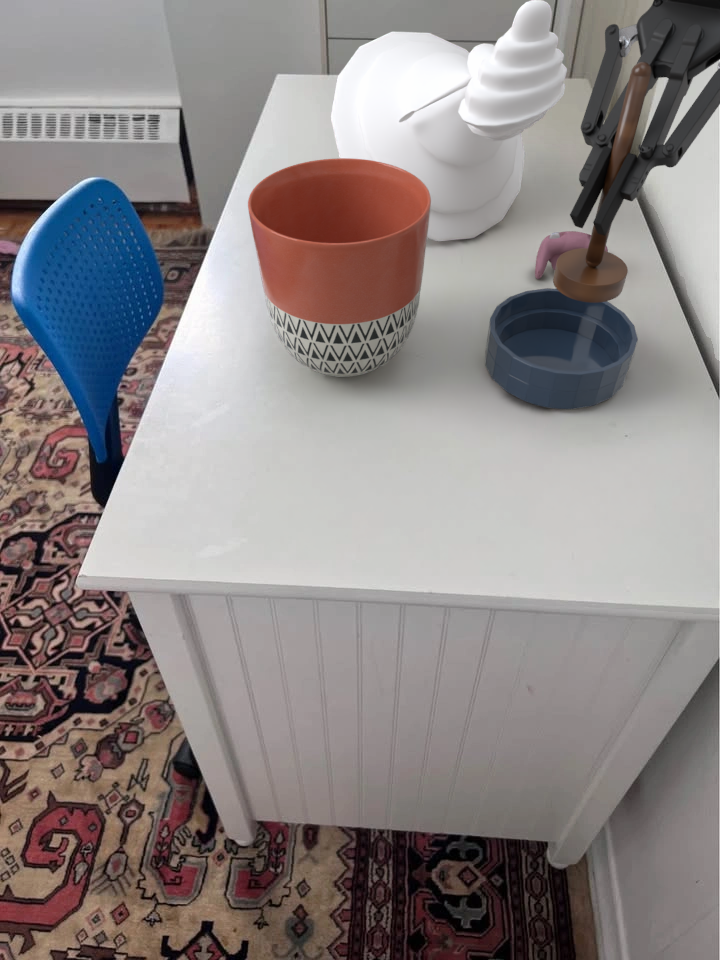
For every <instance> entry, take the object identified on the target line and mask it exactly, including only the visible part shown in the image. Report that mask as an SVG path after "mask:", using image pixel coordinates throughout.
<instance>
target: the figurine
mask: <svg viewBox="0 0 720 960" xmlns="http://www.w3.org/2000/svg"><path fill="white" fill-rule="evenodd" d="M552 17H553V10H552V6H551V5H550V4H549V3H548V2H547V1H545V0H528V1H525V2H524V4H521V6H520V7H519V8H518V9H517V11H516V13H515V15H514V17H513V21H512V25H511V27H510V28H509V29H508V30H507V31H506V32H505V33H504V34H503V35H501V36H500V37H499V38H498V39H497V40H496V42H495V44H492V43H486V42H485V43H480V44H477V45H475V46H474V47H473V48H472V50H471V51H470V52H469V51H468V50H467V49H466V48H464V47H462V46H460V45H458V44H455V43H453V42H450V41H449V40H447V39H444V38H442V37H440V36H437V35H436V34H433V33H431V32H419V31H417V32H415V31H389V32H388V33H385V34H384V35H381V36H379V37H378V38H375V39H373V40H371V41H369V42H366V43H364V44H362V45H360V46H358V48H357V49H356V50H355V52H354V53H353V55H352V56H351V57H350V58H349V60H348V61H347V63H346V64H345V66H344V67H343V68H342V69H341V71H340V72H339V74H338V75H337V80H336V84H335V89H334V96H333V102H332V108H331V113H330V120H331V125H332V129H333V135H334V140H335V143H336V148H337V153H338V157H339V158H350V159H364V160H371V161H377V162H382V163H386V164H389V165H393V166H396V167H398V168H401V169H403V170H406V171H408V172H409V173H411V174H413V175H414V176H416V177H417V178H419V179H420V180H421V181H422V182H423V183H424V184H425V186H426V187H427V189H428V190H429V193H430V196H431V208H430V218H429V227H428V234H427V239H429V240H431V241H436V242H445V241H446V242H447V241H457V240H458V241H459V240H466V239H467V240H468V239H469V240H470V239H474V238H476V237H478V236H479V235H480V234H483V233H484V232H486V231H488V230H489V229H490V228H492V227H494V226H495V225H497V224H498V223H500V222H501V221H503V220H504V218H505V216H506V215H507V214H508V211H509V210H510V208H511V206H512V205H513V203H514V201H515V200H516V198H517V196H518V195H519V193H520V192H521V188H522V179H523V173H524V164H525V158H526V150H525V147H524V146H525V145H524V142H523V141H524V140H523V136H522V132H524V131H525V130H527V129H530V128H531V127H532V126H534V124H537V123H538V122H539V121H541V120H542V119H543V118H544V117H545V116H546V114H547V112H548V111H549V110H551V109H552V108H554V107H555V106H556V105H557V103H558V102H559V101H560V100H561V98H562V97H564V95H565V89H566V84H565V80H566V76H567V73H568V68H567V67H566V66H565V64H564V63H563V61H564V59H565V54H564V53H563V52H562V51H561V49H560V48H557V47H558V44H559V36H558V35H557V34H556V33H555V32H552V31H550V29H551V24H552V19H553V18H552Z"/></svg>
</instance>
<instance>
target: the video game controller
mask: <svg viewBox="0 0 720 960" xmlns="http://www.w3.org/2000/svg"><path fill="white" fill-rule="evenodd" d="M590 238H591V234H589V233H586V232H582V231H575V230H571V231H570V230H566V231H560V232H559V231H558V232H553V233H551V234H549V235H547V236H545V237H544V238H543V240H542V241H541V243H540V244H539V247H538V250H537V253H536V260H535V269H534V277H535V278H536V279H537V280H540V279H541V278H542V277H543V275H544V273H545V271H546V269H547V265H548V263H549V262H550V264H551V265H550V266H551V268H552V269H553V270H554V271H555V268H556V263H557V260H558V258H559V257H560V256H561V255H562V254H563V253H565V252H567V251H570V250H573V249H579V248H588V246H589V242H590ZM605 251H607V252H609V249H608V246H607V245H606V247H605Z"/></svg>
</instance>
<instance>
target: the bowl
mask: <svg viewBox="0 0 720 960" xmlns="http://www.w3.org/2000/svg"><path fill="white" fill-rule="evenodd" d="M487 330H488V331H487V337H486V344H485V349H484V350H485V351H484V356H485V357H484V358H485V359H484V362H485V364H484V365H485V367H486V369H487V371H488V374H489V375H490V377H491V379H492V380H493V381H494V382H495V383H496V384H497V385H499V386H500V388H502V389H503V390H504V391H505V392H506V393H508V394H510V395H512V396H513V397H516V398H517V399H519V400H522V401H523V402H526V403H528V404H531V405H534V406H537V407H538V406H539V407H542V408H548V409H555V410H575V409H576V410H577V409H582V408H588V407H593V406H596V405H599V404H601V403H603V402H605V401H607V400H609V399H610V400H611V398H613V397H614V396H615V395H616V394H617V392H619V391H620V390H621V389H622V388H623V386H624V383H625V381H626V377H627V375H628V371H629V368H630V365H631V362H632V359H633V356H634V353H635V350H636V347H637V343H638V334H637V330H636V326H635V324H634V323H633V322H632V321H631V320H630V318H629V317H628V316H627V314H626V313H625V312H624V311H622V310H621V309H619V308H618V307H616V305H614V304H612V303H611V302H609V301H606V302H598V303H591V302H582V301H578V300H575V299H572V298H569V297H567V296H565V295H564V294H562V293H561V292H559V291H558V290H557V288H551V287H550V288H549V287H547V288H537V289H530V290H525V291H522V292H519V293H517V294H513V295H512V296H509V297H508V298H506V299H504V300H503V301H502V302H501V303H499V304H497V305H496V308H495V309H494V310H493V312H492V314H491V315H490V317H489V324H488V329H487Z"/></svg>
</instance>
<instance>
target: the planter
mask: <svg viewBox="0 0 720 960" xmlns="http://www.w3.org/2000/svg"><path fill="white" fill-rule="evenodd" d="M430 208H431V196H430V193H429V190H428V189H427V187H426V186H425V184H424V183H423V182H422V181H421V180H420V179H419V178H417V177H416V176H414V175H413V174H411V173H409V172H408V171H406V170H403V169H401V168H398V167H396V166H393V165H389V164H386V163H382V162H377V161H371V160H364V159H350V158H340V157H339V158H324V159H323V158H322V159H317V160H316V159H315V160H310V161H304V162H301V163H296V164H293V165H290V166H286V167H284V168H282V169H280V170H277V171H275V172H273V173H271V174H269V175H268V176H266V177H265V178H263V179H262V180H260V181H259V182H258V183H257V184H256V185H255V187H253V189H252V190H251V192H250V193H249V197H248V200H247V210H248V215H249V222H250V227H251V233H252V238H253V243H254V247H255V253H256V258H257V262H258V267H259V268H258V269H259V274H260V279H261V284H262V289H263V294H264V299H265V305H266V308H267V313H268V317H269V321H270V322H271V325H272V328H273V330H274V332H275V334H276V336H277V338H278V340H279V341H280V343H281V345H282V346H283V348H284V349H285V350H286V352H288V353H289V355H291V357H293V358H294V359H295V360H296V361H297V362H299V363H300V364H301V365H303V366H305V367H307V368H308V369H310V370H312V371H315V372H317V373H320V374H323V375H326V376H331V377H339V378H343V377H345V378H346V377H347V378H348V377H356V376H360V375H364V374H367V373H370V372H372V371H375V370H376V369H378V368H380V367H383V365H385V364H386V363H388V362H389V361H390V360H392V359H393V357H395V356H396V355H397V354H398V353H399V351H401V349H402V348H403V347H404V345H405V344H406V342H407V340H408V339H409V336H410V334H411V331H412V329H413V328H414V324H415V321H416V318H417V315H418V310H419V305H420V299H421V298H420V297H421V292H422V291H421V290H422V284H423V283H422V282H423V276H424V275H423V274H424V267H425V259H426V250H427V249H426V248H427V240H428V238H427V234H428V227H429V218H430Z"/></svg>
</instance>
